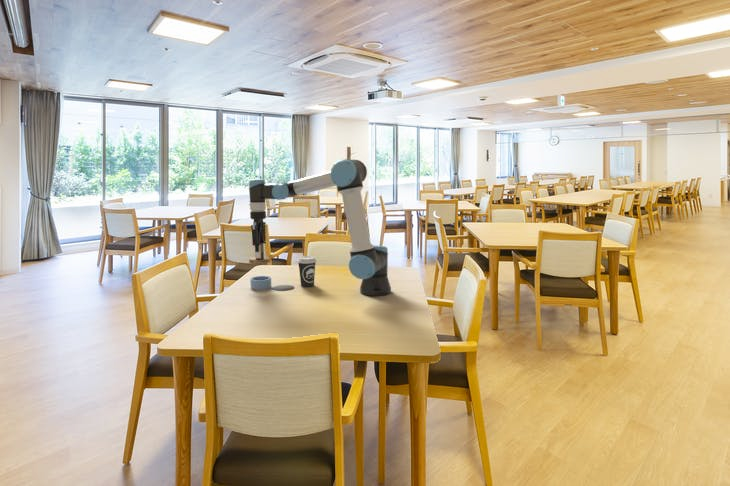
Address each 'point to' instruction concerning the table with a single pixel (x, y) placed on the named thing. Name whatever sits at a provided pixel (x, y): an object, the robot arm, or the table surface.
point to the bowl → (260, 282)
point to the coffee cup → (307, 270)
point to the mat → (283, 288)
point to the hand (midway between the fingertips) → (259, 257)
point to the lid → (260, 260)
